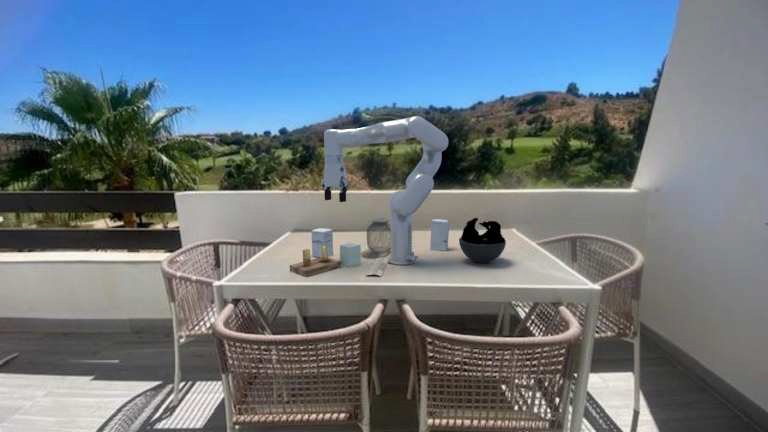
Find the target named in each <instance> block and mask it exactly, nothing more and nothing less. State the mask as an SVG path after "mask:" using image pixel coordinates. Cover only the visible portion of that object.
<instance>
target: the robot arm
mask: <svg viewBox="0 0 768 432" xmlns="http://www.w3.org/2000/svg"><path fill="white" fill-rule="evenodd" d="M323 138H324V139H323V141H324V142H323V143H324V144H323V145H324V168H323V178H322V179H321V180H320V183H321V187H322V188H323V192H324V201H331V200H332V190H331V189H332V188H338V190H339V192H338V194H339V195H338V197H339V201H338V202H339V203H344V202H345V203H346V202H347V192H348V189H349V186H350V181H349V180H348V179H347V178H348V177H347V168H346V165H345V163H344V147H346V148H356V147H360V146H361V147H362V146H366V145H367V146H368V145H373V144H386V143H391V142H396V141H401V140H402V141H403V140H407V139H408V140H409V139H412V138H415V139H416V140H418V141H419V142H421V147H422V150H423V151H422V152H423V153H422V154H423V155H422V158H421V159H420V161H419V162H418V164H417V165H416V167H414V169H413V170H412V171H411V173H410V174H409V175H408V176H407V178H406V180H405V185H406V188H405V189H404V190H397V191H395V192H393V193H392V194H391V196H390V197H389V215H390V256H388V257H387V258H386V259H387V260H388V264H389V263H390V264H393V265H398V266H399V265H403V266H404V265H411V264H414V263H416V262H417V261H418V259H419V256H418V255H415V252H414V251H413V214H415V213H416V212H417V211H418V210H419V208H420V207H421V206H422V205H423V203H424V202H425V201H426V199H427V198H428V197H429V195H430V194H431V193H432V191H433V190H434V186H435V185H434V184H435V182H434V179H433V177H434V176H435V175H436V173H437V172H438V170H439V168H440V166H441V163H442V156H443V155H442V152H443V151H445V150H447V148H448V146H449V138H448V136H447V134H445V132H443V131H442V130H441V129H440V128H438V127H436V126H435V125H433V124H432V123H431V122H429V121H428V120H427V119H425V118H423V117H421V116H418V115H416V116H415V115H414V116H411V117H406V118H399V119H394V120H389V121H382V122H379V123H378V122H377V123H376V124H372V125H368V126H363V127H360V128H359V127H358V128H348V129H346V128H345V129H337V128H336V129H335V128H330V129H326V130H324V132H323Z"/></svg>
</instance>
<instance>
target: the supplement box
mask: <svg viewBox="0 0 768 432" xmlns="http://www.w3.org/2000/svg"><path fill="white" fill-rule="evenodd" d="M333 232H334V231H333V229H332V228H324V227H323V228H322V227H319V228H315V229H311V256H312V257H317V258H321V246H324V245H326V246H328V258H330V256H333V255H334V251H333V250H334V240H333V239H334V238H333V237H334V236H333Z"/></svg>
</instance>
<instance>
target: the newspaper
mask: <svg viewBox="0 0 768 432" xmlns="http://www.w3.org/2000/svg"><path fill="white" fill-rule="evenodd" d="M387 259H388V258H385V257H380V258H379V257H377V258H375V260H374V262H373V263H372V265H371V267H370V268H369V270H368V272H367V273H366V275H365V276H366V277H369V276H371V275H375V276H379V277H382V276H383V273H384V272H385V270H386V267H387V265H388V264H389V262H388V260H387Z"/></svg>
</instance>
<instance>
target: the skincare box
mask: <svg viewBox="0 0 768 432" xmlns="http://www.w3.org/2000/svg"><path fill="white" fill-rule="evenodd" d="M449 233H450V219H449V220H447V219H440V218H439V219H437V218H436V219H435V218H434V219H432V220H431V225H430V243H429V244H430V246H429V247H430V248H429V250H430V251H431V250H432V251H442V250H443V252H446V251H447V250H448V249H449V238H450V237H449V235H450V234H449ZM447 248H448V249H447Z"/></svg>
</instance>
